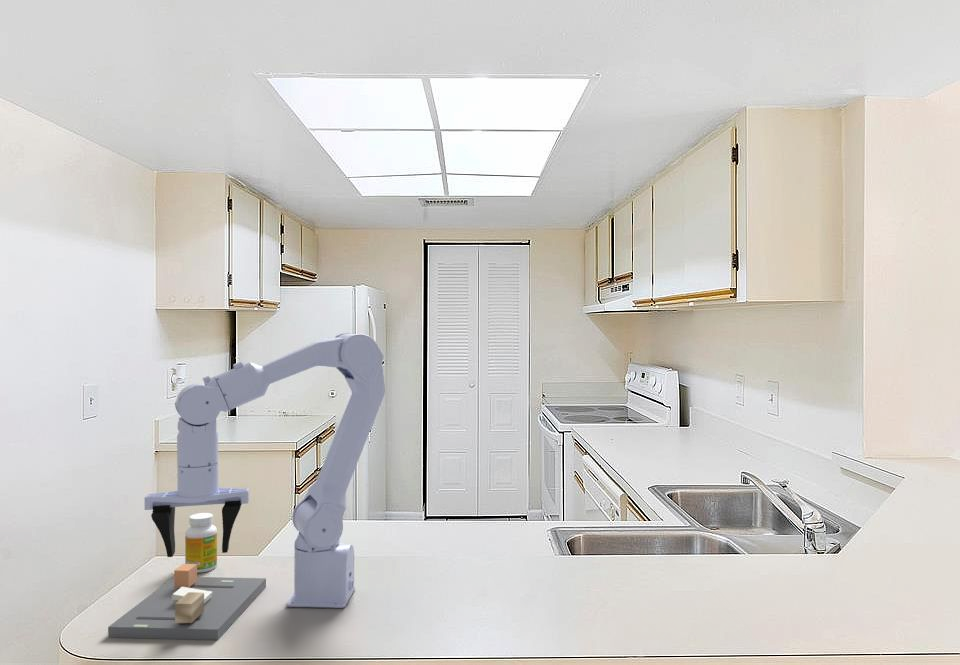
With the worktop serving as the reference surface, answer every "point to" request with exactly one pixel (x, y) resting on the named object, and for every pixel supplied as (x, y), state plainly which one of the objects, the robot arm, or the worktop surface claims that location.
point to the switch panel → (219, 614)
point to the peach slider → (185, 575)
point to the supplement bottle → (201, 542)
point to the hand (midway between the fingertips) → (198, 552)
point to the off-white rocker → (185, 590)
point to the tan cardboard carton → (189, 607)
